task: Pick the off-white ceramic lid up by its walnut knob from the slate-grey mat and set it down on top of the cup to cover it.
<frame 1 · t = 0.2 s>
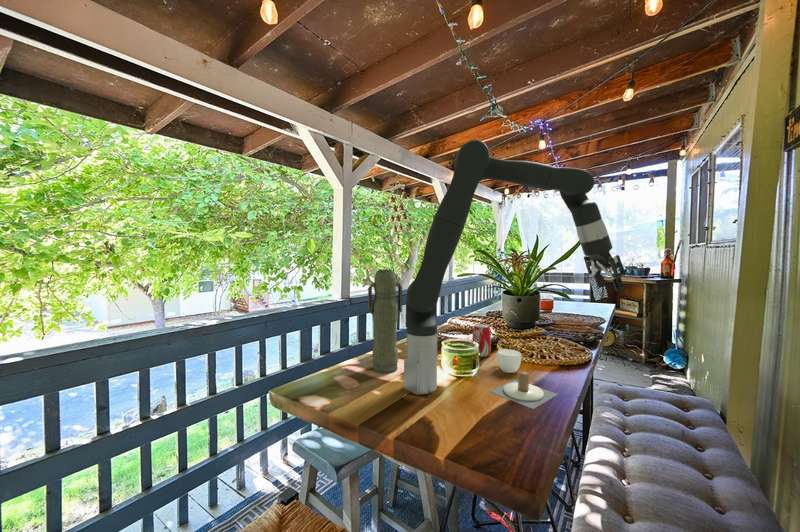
hand: (610, 288, 100), 31 cm above the table, tool tilted 20°, fingers open, 8 cm apart
soda can: (481, 355, 134), on the table
lid: (523, 392, 98), point 1 cm above the table, touching mat
thermos: (384, 369, 119), on the table
cup: (506, 371, 117), on the table
mat: (523, 394, 98), on the table
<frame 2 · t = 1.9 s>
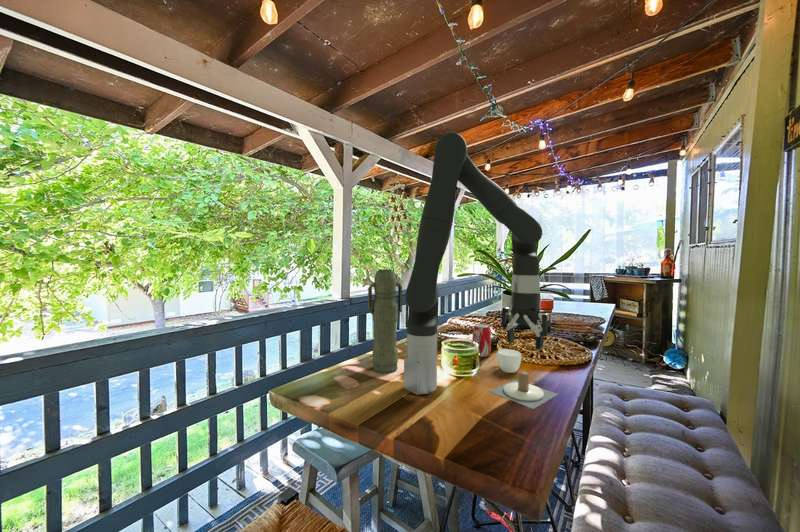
hand: (524, 345, 98), 14 cm above the table, tool pointing down, fingers open, 8 cm apart
nothing on the table moved.
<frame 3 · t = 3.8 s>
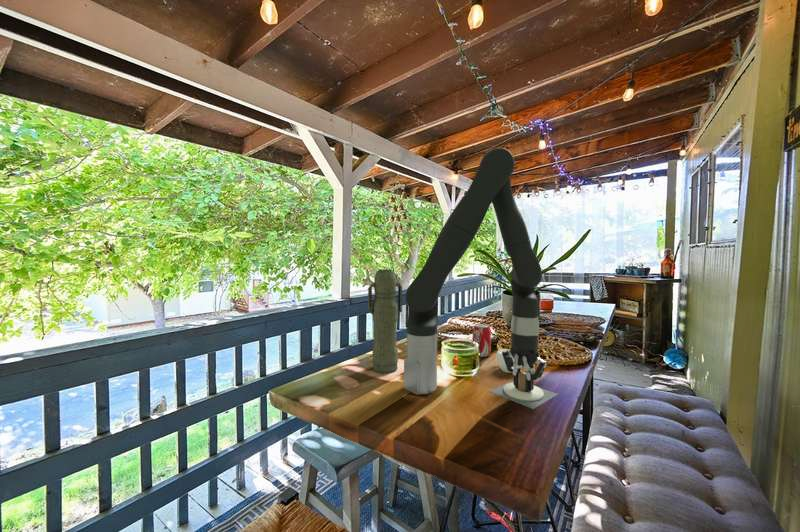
hand: (523, 389, 98), 2 cm above the table, tool pointing down, fingers closed on lid, 3 cm apart
lid: (523, 392, 98), point 1 cm above the table, touching gripper, mat
everything else where it was.
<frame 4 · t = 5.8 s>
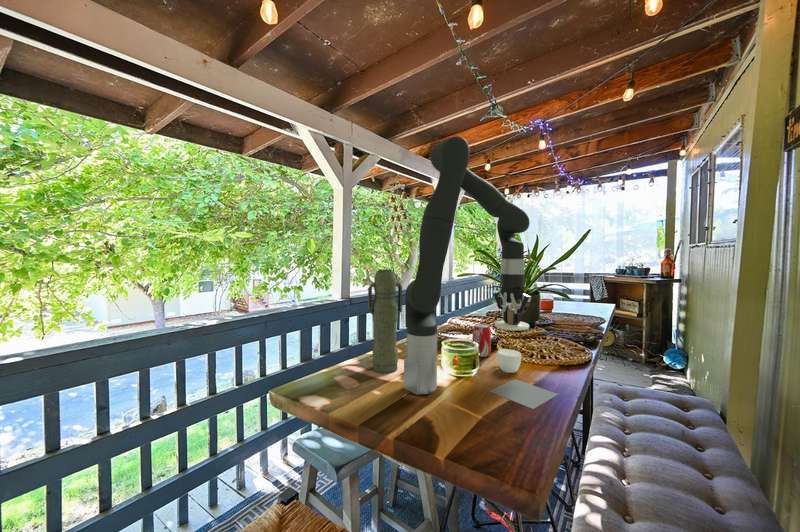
hand: (511, 323, 113), 17 cm above the table, tool pointing down, fingers closed on lid, 3 cm apart
lid: (511, 326, 113), point 16 cm above the table, touching gripper
everything else where it was.
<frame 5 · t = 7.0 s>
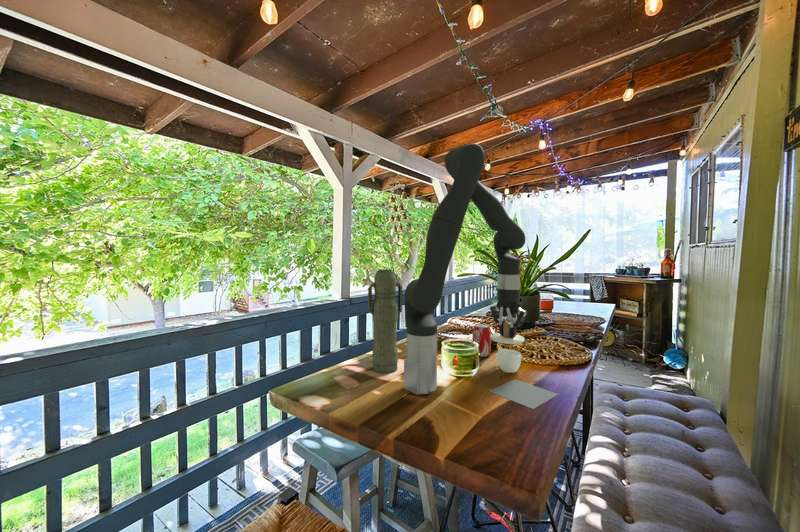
hand: (507, 336, 117), 12 cm above the table, tool pointing down, fingers closed on lid, 3 cm apart
lid: (507, 339, 117), point 11 cm above the table, touching gripper
everything else where it was.
when the fingers open (9 cm above the table, at t = 7.8 s): lid drops 2 cm, resting on cup.
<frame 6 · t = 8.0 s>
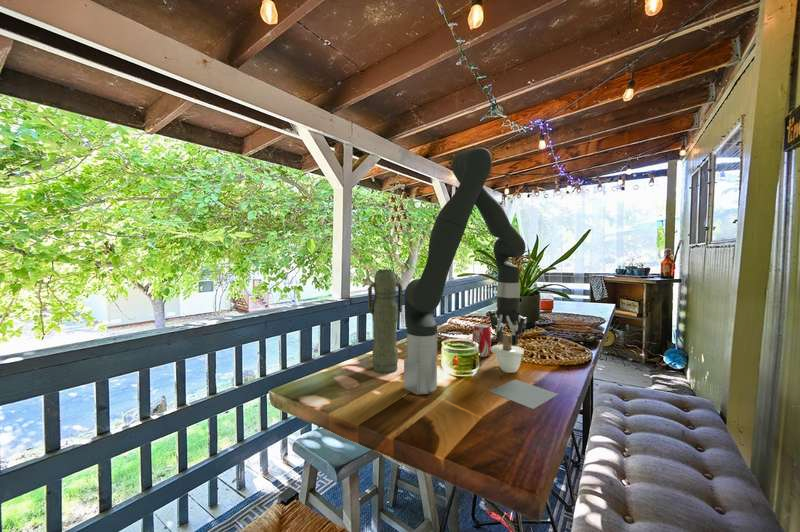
hand: (507, 343, 117), 10 cm above the table, tool pointing down, fingers open, 5 cm apart
lid: (507, 351, 117), point 7 cm above the table, touching cup
cup: (506, 371, 118), on the table, touching lid
everything else where it was.
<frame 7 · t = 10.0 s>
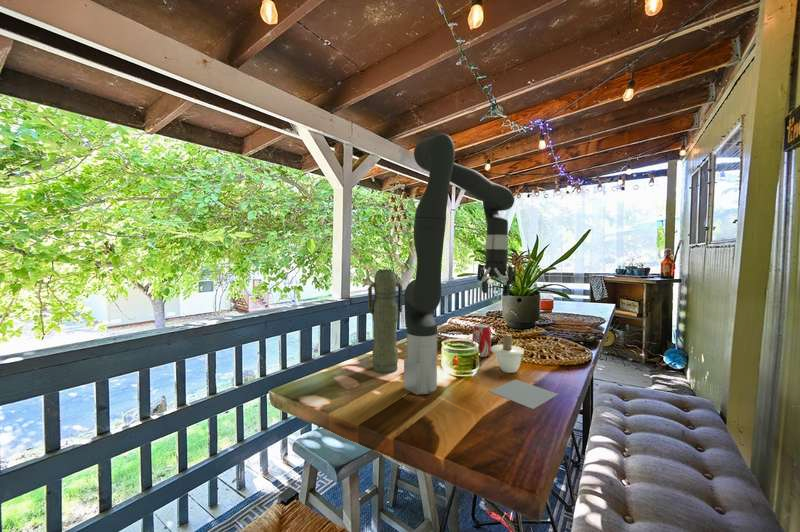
hand: (495, 294, 118), 26 cm above the table, tool pointing down, fingers open, 8 cm apart
nothing on the table moved.
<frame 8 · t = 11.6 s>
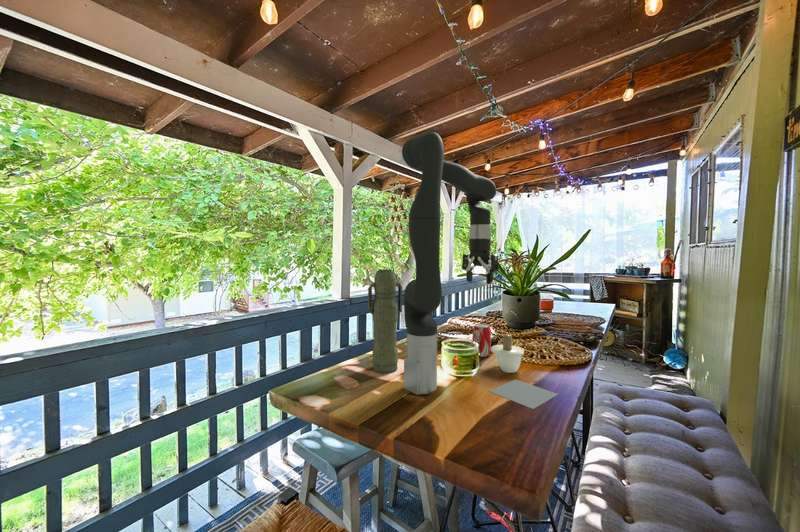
hand: (479, 282, 122), 30 cm above the table, tool pointing down, fingers open, 8 cm apart
nothing on the table moved.
at the end: lid inside the target area on the cup (0.1 cm from its centre), point 6.9 cm above the cup's base; lid touching cup; the gripper is holding nothing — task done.
